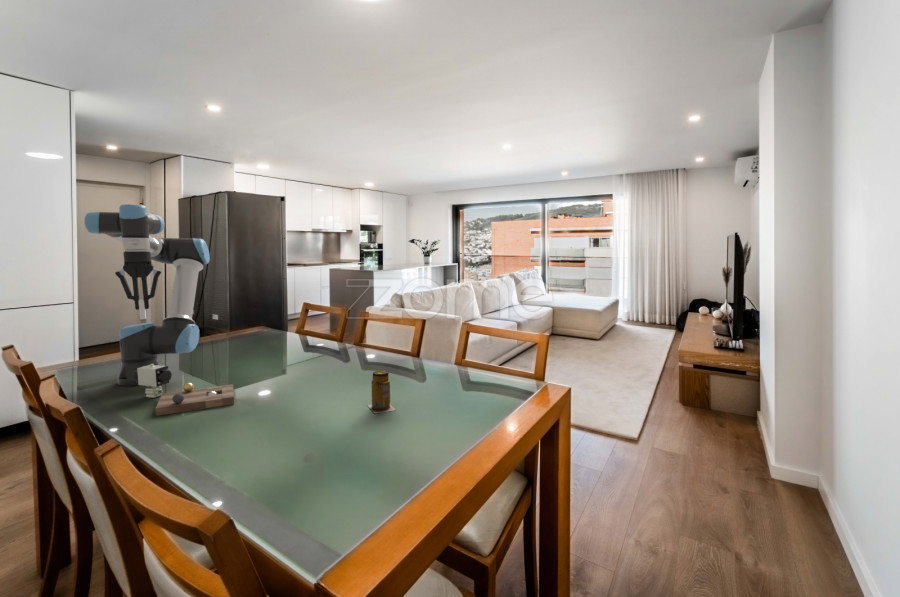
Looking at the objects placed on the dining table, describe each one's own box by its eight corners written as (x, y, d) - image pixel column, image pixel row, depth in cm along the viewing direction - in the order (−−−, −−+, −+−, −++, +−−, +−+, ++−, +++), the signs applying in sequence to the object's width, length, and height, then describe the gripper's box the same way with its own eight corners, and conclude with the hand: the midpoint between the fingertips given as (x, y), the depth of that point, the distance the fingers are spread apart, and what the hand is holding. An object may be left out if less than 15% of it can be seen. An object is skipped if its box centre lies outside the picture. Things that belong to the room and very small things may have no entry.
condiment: (388, 402, 142) (387, 368, 141) (396, 410, 134) (395, 374, 133) (367, 405, 139) (366, 371, 137) (374, 414, 131) (373, 377, 130)
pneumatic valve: (162, 399, 145) (159, 366, 144) (134, 397, 147) (132, 364, 146) (175, 394, 150) (173, 362, 149) (149, 392, 153) (146, 361, 151)
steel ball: (205, 396, 144) (210, 388, 145) (214, 400, 146) (219, 391, 146) (205, 399, 142) (210, 391, 142) (214, 403, 143) (219, 394, 144)
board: (162, 400, 144) (162, 393, 144) (233, 390, 155) (233, 384, 154) (155, 415, 130) (155, 408, 130) (234, 403, 141) (233, 396, 140)
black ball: (173, 402, 135) (172, 392, 135) (184, 400, 137) (184, 391, 136) (172, 405, 132) (171, 395, 132) (183, 403, 134) (183, 394, 133)
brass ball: (183, 391, 147) (183, 382, 146) (194, 389, 148) (193, 381, 148) (183, 393, 144) (182, 384, 143) (193, 392, 145) (193, 383, 145)
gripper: (110, 250, 134) (117, 322, 137) (159, 250, 141) (165, 318, 144) (114, 250, 140) (121, 318, 144) (161, 250, 147) (166, 315, 150)
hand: (143, 318), depth 144 cm, fingers closed
